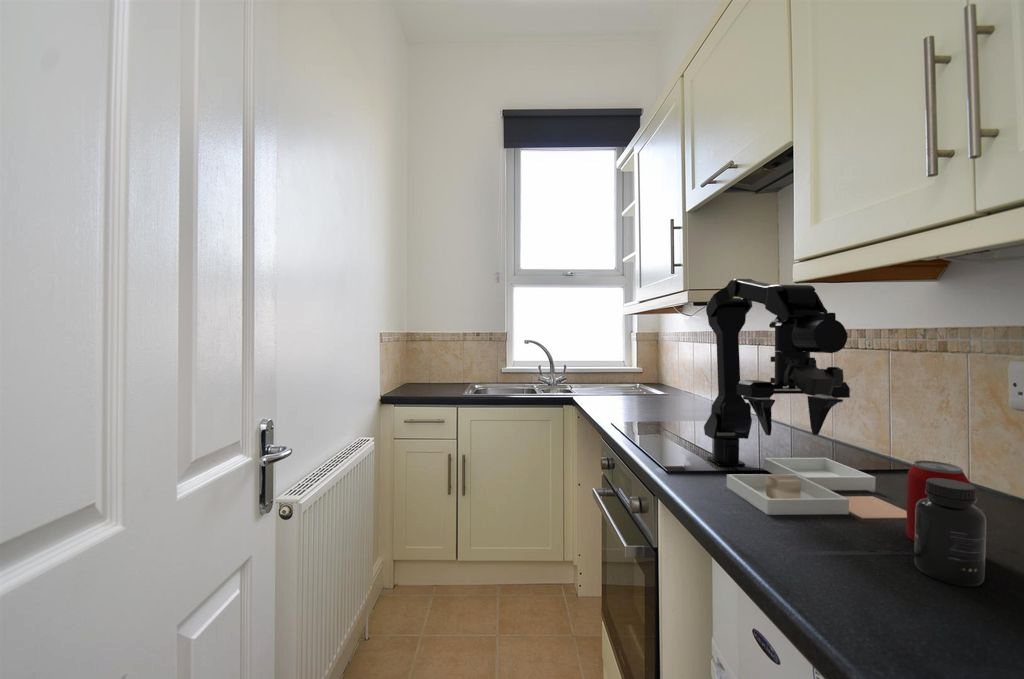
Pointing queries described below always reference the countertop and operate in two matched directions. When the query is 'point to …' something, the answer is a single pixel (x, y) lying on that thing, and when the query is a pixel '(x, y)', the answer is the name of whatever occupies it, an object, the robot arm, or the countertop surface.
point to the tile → (874, 508)
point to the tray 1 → (810, 502)
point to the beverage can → (918, 485)
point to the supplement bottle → (950, 533)
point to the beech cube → (782, 487)
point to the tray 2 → (822, 473)
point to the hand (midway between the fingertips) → (791, 434)
